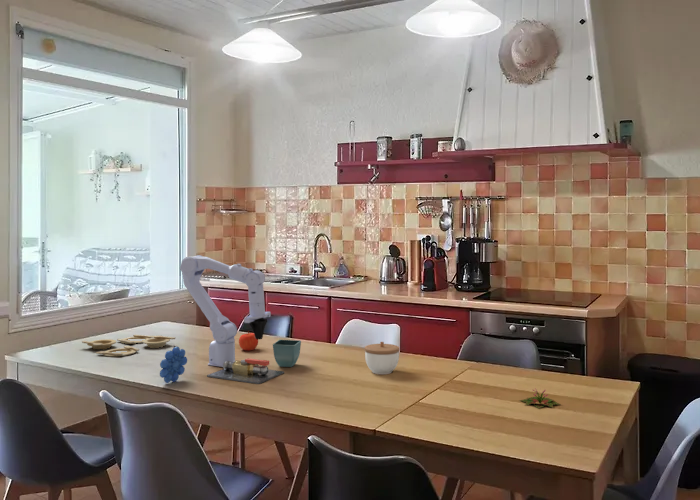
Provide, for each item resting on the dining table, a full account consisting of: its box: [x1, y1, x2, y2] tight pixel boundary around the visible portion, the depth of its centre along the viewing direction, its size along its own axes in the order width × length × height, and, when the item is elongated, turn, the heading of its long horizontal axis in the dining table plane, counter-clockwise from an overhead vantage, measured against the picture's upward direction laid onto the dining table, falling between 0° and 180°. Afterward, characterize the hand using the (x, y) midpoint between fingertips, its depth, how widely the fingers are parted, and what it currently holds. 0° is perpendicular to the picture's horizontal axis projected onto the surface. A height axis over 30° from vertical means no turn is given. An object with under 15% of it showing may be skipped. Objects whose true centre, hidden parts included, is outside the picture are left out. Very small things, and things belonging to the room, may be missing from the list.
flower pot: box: [272, 339, 302, 368], centre depth 236 cm, size 9×9×9 cm
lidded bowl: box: [364, 341, 400, 375], centre depth 227 cm, size 13×13×11 cm
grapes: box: [159, 346, 188, 384], centre depth 215 cm, size 12×7×12 cm, turn 147°
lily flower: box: [518, 388, 560, 409], centre depth 190 cm, size 12×12×5 cm
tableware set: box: [81, 334, 176, 358], centre depth 270 cm, size 35×29×4 cm
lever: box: [240, 358, 270, 367], centre depth 222 cm, size 11×3×2 cm, turn 61°
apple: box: [238, 330, 259, 352], centre depth 264 cm, size 8×8×8 cm
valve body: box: [206, 360, 285, 385], centre depth 223 cm, size 22×16×4 cm
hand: (259, 339), depth 235 cm, fingers closed
